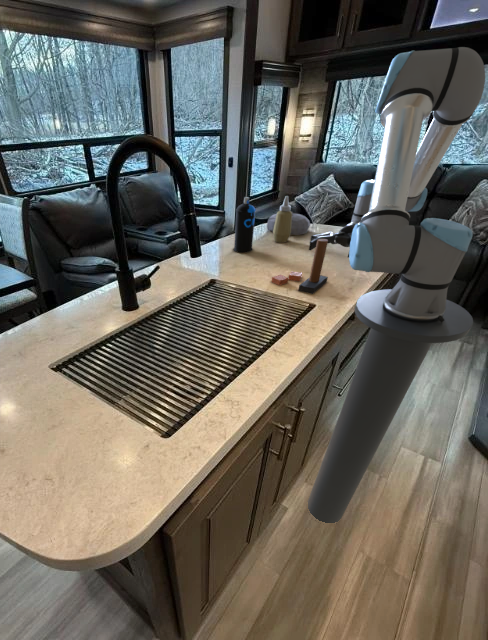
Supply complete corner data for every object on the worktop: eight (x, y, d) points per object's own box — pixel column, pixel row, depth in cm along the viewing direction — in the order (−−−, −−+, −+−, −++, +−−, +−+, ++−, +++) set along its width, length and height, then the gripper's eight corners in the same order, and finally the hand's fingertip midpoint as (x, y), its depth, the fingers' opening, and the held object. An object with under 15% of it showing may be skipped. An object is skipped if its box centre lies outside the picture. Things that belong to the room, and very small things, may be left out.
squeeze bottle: (288, 244, 150) (295, 198, 138) (270, 243, 152) (275, 197, 140) (290, 239, 155) (297, 194, 143) (273, 238, 158) (278, 194, 146)
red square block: (287, 282, 117) (288, 277, 116) (279, 285, 116) (279, 280, 115) (279, 279, 120) (280, 274, 119) (271, 282, 118) (272, 276, 117)
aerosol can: (229, 250, 146) (232, 198, 133) (240, 245, 151) (243, 194, 137) (245, 254, 142) (249, 200, 129) (256, 249, 146) (260, 196, 133)
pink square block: (301, 277, 120) (302, 272, 119) (299, 281, 118) (300, 276, 116) (290, 276, 122) (291, 271, 121) (288, 280, 119) (288, 275, 118)
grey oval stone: (262, 232, 165) (300, 238, 155) (264, 213, 160) (304, 218, 150) (277, 225, 174) (314, 230, 164) (279, 207, 168) (317, 211, 159)
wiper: (326, 282, 116) (337, 236, 106) (312, 294, 109) (323, 246, 100) (312, 279, 119) (322, 234, 109) (298, 290, 112) (307, 243, 102)
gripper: (382, 250, 121) (364, 268, 109) (317, 239, 133) (293, 254, 121) (390, 227, 116) (371, 243, 104) (321, 219, 128) (297, 232, 116)
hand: (329, 249), depth 113 cm, fingers open, 13 cm apart
